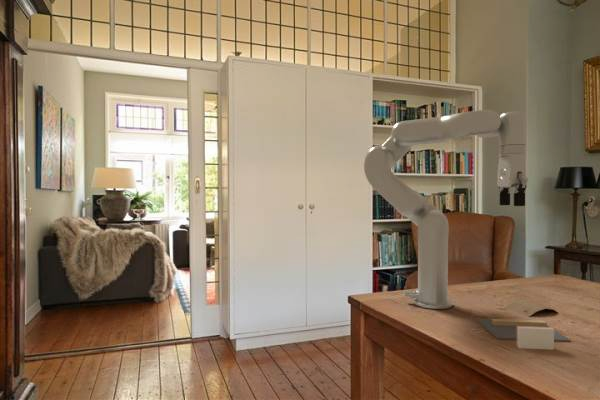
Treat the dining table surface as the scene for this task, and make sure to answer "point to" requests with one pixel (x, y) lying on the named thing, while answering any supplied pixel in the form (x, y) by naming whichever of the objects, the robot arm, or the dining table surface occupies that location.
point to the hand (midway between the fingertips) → (511, 205)
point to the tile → (535, 337)
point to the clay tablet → (525, 307)
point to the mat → (514, 328)
